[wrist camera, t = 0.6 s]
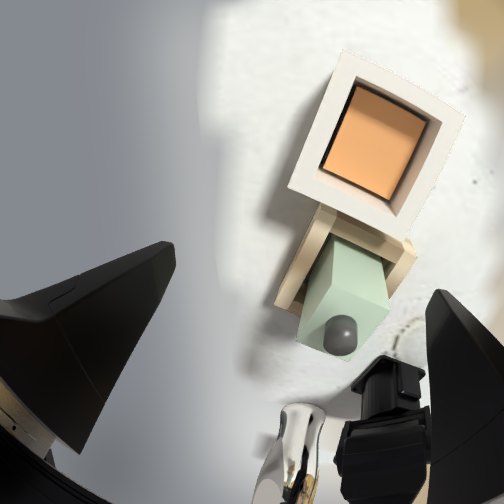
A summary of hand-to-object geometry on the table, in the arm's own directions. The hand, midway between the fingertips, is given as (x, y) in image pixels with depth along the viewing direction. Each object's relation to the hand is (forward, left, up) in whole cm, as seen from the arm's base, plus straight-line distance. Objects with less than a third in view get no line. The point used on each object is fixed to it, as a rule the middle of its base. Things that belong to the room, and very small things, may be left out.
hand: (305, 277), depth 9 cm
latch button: (+4, -2, -12) cm, 13 cm away
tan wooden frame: (-6, -4, -14) cm, 16 cm away
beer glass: (-28, -11, -14) cm, 34 cm away
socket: (+4, -2, -14) cm, 15 cm away
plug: (-6, -4, -14) cm, 16 cm away
